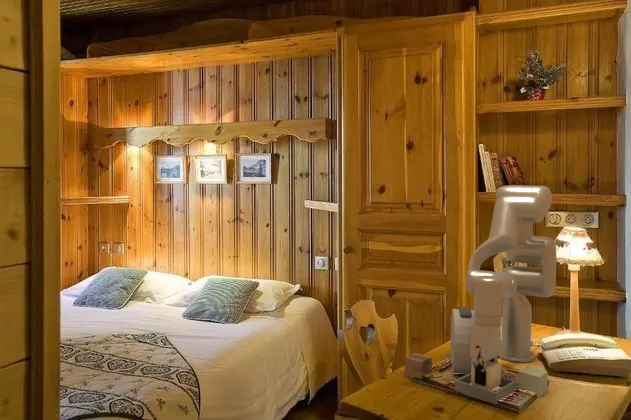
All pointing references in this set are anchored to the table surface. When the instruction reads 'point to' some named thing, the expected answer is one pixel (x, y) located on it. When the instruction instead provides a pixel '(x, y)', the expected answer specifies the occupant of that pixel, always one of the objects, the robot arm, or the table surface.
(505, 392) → the grey tray
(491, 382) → the cream block
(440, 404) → the table surface
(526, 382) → the sage block
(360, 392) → the table surface
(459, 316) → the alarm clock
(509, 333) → the robot arm
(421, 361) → the walnut block
